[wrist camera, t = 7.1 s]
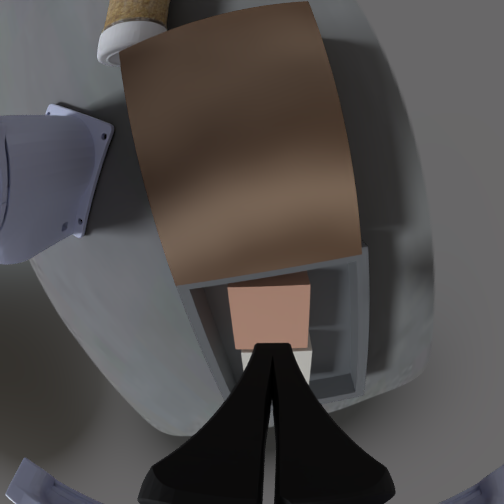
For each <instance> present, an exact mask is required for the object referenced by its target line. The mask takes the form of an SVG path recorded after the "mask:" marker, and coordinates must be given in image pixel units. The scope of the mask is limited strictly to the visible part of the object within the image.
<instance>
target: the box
mask: <svg viewBox="0 0 504 504" xmlns="http://www.w3.org/2000/svg"><path fill="white" fill-rule="evenodd" d="M361 246H362V254H361V255H356V256H351V257H345V258H340V259H335V260H329V261H324V262H318V263H313V264H307V265H301V266H296V267H290V268H284V269H278V270H273V271H267V272H261V273H255V274H249V275H243V276H237V277H230V278H224V279H218V280H211V281H205V282H199V283H192V284H185V285H179V286H176V287H177V289H178V292H179V295H180V297H181V300H182V303H183V305H184V308H185V311H186V313H187V316H188V318H189V321H190V323H191V326H192V328H193V331H194V333H195V336H196V338H197V341H198V343H199V345H200V348H201V350H202V352H203V355H204V357H205V359H206V362H207V364H208V366H209V368H210V371H211V373H212V375H213V377H214V379H215V382H216V384H217V386H218V388H219V390H220V392H221V394H222V396H223V399H224V401H225V400H226V399H227V397H228V396H229V395H230V393H231V391H232V390H233V388H234V387H235V385H236V384H237V382H238V381H239V379H240V377H241V375H242V373H243V372H244V371H243V363H242V356H241V350H242V349H235V342H234V334H233V327H232V320H231V312H230V304H229V296H228V288H227V287H228V284H229V283H235V282H241V281H247V280H253V279H259V278H266V277H272V276H277V275H283V274H289V273H295V272H301V271H306V270H307V274H308V277H309V281H310V310H309V329H308V330H309V335H310V340H311V346H312V358H311V369H310V379H309V387H310V388H311V390H312V392H313V393H314V395H315V396H316V398H317V399H318V401H319V402H320V404H324V403H330V402H335V401H340V400H345V399H350V398H354V397H359V396H363V395H364V390H365V380H366V370H367V357H368V340H369V303H370V293H369V256H368V246H367V245H366V244H365V243H364V242H363V240H362V239H361ZM271 410H273V404H272V403H271ZM271 410H270V411H271Z"/></svg>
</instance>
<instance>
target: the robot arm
mask: <svg viewBox="0 0 504 504" xmlns="http://www.w3.org/2000/svg"><path fill="white" fill-rule="evenodd" d="M113 133H114V126H113V125H112V124H110V123H108V122H105V121H102V120H100V119H97V118H94V117H91V116H89V115H86V114H83V113H80V112H77V111H74V110H72V109H69V108H66V107H63V106H60V105H57V104H50V105H49V106H48V108H47V111H46V114H45V115H7V116H0V264H16V263H21V262H24V261H26V260H28V259H30V258H32V257H34V256H35V255H37V254H39V253H40V252H42V251H44V250H45V249H47V248H49V247H50V246H52V245H54V244H56V243H57V242H59V241H61V240H63V239H65V238H66V237H68V236H70V235H72V234H73V235H74V236H76V237H78V238H81V237H83V236H84V234H85V229H86V225H87V220H88V216H89V211H90V207H91V203H92V199H93V195H94V192H95V188H96V184H97V181H98V177H99V174H100V171H101V168H102V164H103V161H104V158H105V155H106V152H107V149H108V147H109V144H110V141H111V138H112V136H113ZM105 134H106V135H107V138H106V139H104V135H105ZM81 219H82V222H81ZM271 403H272V404H273V416H274V427H275V439H276V473H275V497H274V504H384V503H386V502H387V501H388V500H390V499H391V498H392V497H393V496H394V495H395V486H394V483H393V480H392V478H391V476H390V473H389V471H388V469H387V468H386V467H385V466H384V465H382V464H381V463H379V462H378V461H376V460H375V459H374V458H373V457H371V456H370V455H369V454H367V453H366V452H365V451H364V450H363V449H362V448H360V447H359V446H358V445H357V444H356V443H355V442H354V441H353V440H351V438H350V437H349V436H348V435H347V434H346V433H345V432H344V431H343V430H341V428H340V427H339V426H338V425H337V424H336V423H335V422H334V421H333V419H332V418H331V417H330V416H329V414H328V413H327V412H326V410H325V409H324V408H323V406H322V405H321V404H320V402H319V401H318V399H317V398H316V396H315V395H314V393H313V392H312V390H311V388H310V387H309V385H308V383H307V381H306V380H305V378H304V376H303V374H302V372H301V370H300V368H299V366H298V364H297V361H296V359H295V356H294V354H293V351H292V347H291V344H289V343H256V344H255V345H254V349H253V352H252V355H251V357H250V359H249V362H248V364H247V366H246V368H245V370H244V372H243V373H242V375H241V377H240V379H239V381H238V382H237V384H236V385H235V387H234V388H233V390H232V391H231V393H230V395H229V396H228V397H227V399H226V400H225V402H224V403H223V404H222V405H221V407H220V408H219V409H218V410H217V412H216V413H215V414H214V415H213V416H212V417H211V418H210V420H209V421H208V422H207V423H206V424H205V425H204V426H203V427H202V428H201V429H200V430H199V431H198V432H197V433H196V434H195V435H193V436H192V437H191V438H190V439H189V440H188V441H186V442H185V443H184V444H183V445H182V446H180V447H179V448H178V449H176V450H175V451H174V452H172V453H171V454H169V455H168V456H166V457H165V458H164V459H162V460H161V461H159V462H157V463H156V464H154V465H153V466H152V467H151V468H150V470H149V472H148V473H147V475H146V477H145V479H144V481H143V483H142V486H141V489H140V493H139V496H138V502H139V503H140V504H262V501H263V482H264V481H263V480H264V462H265V460H264V459H265V445H266V438H267V431H268V425H269V418H270V410H271ZM6 496H7V497H8V498H9V499H10V500H12V501H13V502H14V503H15V504H103V503H101V502H99V501H96V500H94V499H92V498H90V497H88V496H86V495H84V494H82V493H80V492H78V491H76V490H74V489H72V488H70V487H68V486H66V485H65V484H63V483H61V482H59V481H58V480H56V479H55V478H54V477H53V476H51V475H50V474H49V473H48V472H46V471H45V470H43V469H42V468H41V467H39V466H37V465H36V464H35V463H33V462H32V461H30V460H29V459H27V458H24V459H23V461H22V463H21V464H20V466H19V468H18V470H17V472H16V474H15V476H14V478H13V480H12V482H11V483H10V485H9V487H8V489H7V491H6ZM438 504H504V465H502V466H501V467H499V468H498V469H496V470H495V471H493V472H492V473H490V474H489V475H487V476H486V477H485V478H483V479H482V480H481V481H480V482H479V483H477V484H476V485H474V486H472V487H471V488H468V489H467V490H465V491H463V492H461V493H459V494H457V495H455V496H453V497H451V498H449V499H447V500H445V501H442V502H440V503H438Z"/></svg>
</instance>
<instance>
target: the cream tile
mask: <svg viewBox="0 0 504 504" xmlns="http://www.w3.org/2000/svg"><path fill="white" fill-rule="evenodd" d="M292 351H293V354H294V356H295V359H296V361H297V364H298V366H299V368H300V370H301V372H302V374H303V376H304V378H305V380H306V381H307V383H308V385H309V379H310V369H311V358H312V346H311V340H310V335H309V330H308V345H307V348H292ZM252 352H253V349H242V350H241V356H242V363H243V371H244V370H245V368H246V366H247V364H248V362H249V359H250V357H251V355H252Z"/></svg>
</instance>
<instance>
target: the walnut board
mask: <svg viewBox="0 0 504 504" xmlns="http://www.w3.org/2000/svg"><path fill="white" fill-rule="evenodd" d="M119 58H120V66H121V73H122V80H123V86H124V92H125V98H126V104H127V109H128V115H129V120H130V125H131V130H132V134H133V139H134V144H135V148H136V152H137V157H138V161H139V165H140V169H141V173H142V177H143V181H144V185H145V189H146V192H147V196H148V200H149V203H150V207H151V210H152V214H153V217H154V221H155V224H156V227H157V230H158V234H159V237H160V240H161V243H162V246H163V249H164V253H165V256H166V259H167V262H168V265H169V267H170V270H171V273H172V276H173V279H174V282H175V285H176V286H179V285H185V284H192V283H199V282H205V281H211V280H218V279H224V278H230V277H237V276H243V275H249V274H255V273H261V272H267V271H273V270H278V269H284V268H290V267H296V266H301V265H307V264H313V263H318V262H324V261H329V260H335V259H340V258H345V257H351V256H356V255H361V254H362V246H361V233H360V222H359V212H358V203H357V195H356V187H355V180H354V173H353V166H352V160H351V154H350V149H349V143H348V138H347V133H346V128H345V123H344V118H343V114H342V109H341V105H340V101H339V96H338V92H337V88H336V85H335V81H334V77H333V73H332V70H331V66H330V63H329V60H328V56H327V53H326V50H325V47H324V44H323V41H322V38H321V35H320V32H319V29H318V26H317V23H316V20H315V18H314V15H313V12H312V10H311V7H310V5H309V2H308V1H305V2H291V3H281V4H273V5H266V6H259V7H253V8H248V9H242V10H237V11H233V12H228V13H224V14H220V15H216V16H212V17H208V18H205V19H201V20H198V21H195V22H191V23H188V24H185V25H182V26H179V27H176V28H174V29H171V30H168V31H166V32H163V33H160V34H158V35H155V36H153V37H150V38H148V39H146V40H143V41H141V42H139V43H137V44H135V45H132V46H130V47H128V48H126V49H124V50H122V51H120V52H119Z"/></svg>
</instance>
